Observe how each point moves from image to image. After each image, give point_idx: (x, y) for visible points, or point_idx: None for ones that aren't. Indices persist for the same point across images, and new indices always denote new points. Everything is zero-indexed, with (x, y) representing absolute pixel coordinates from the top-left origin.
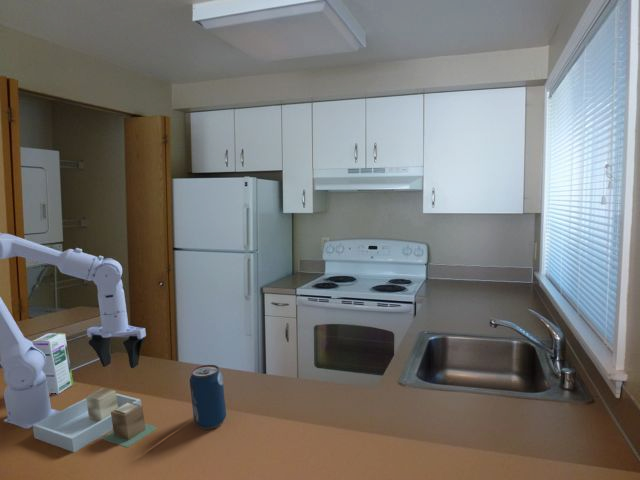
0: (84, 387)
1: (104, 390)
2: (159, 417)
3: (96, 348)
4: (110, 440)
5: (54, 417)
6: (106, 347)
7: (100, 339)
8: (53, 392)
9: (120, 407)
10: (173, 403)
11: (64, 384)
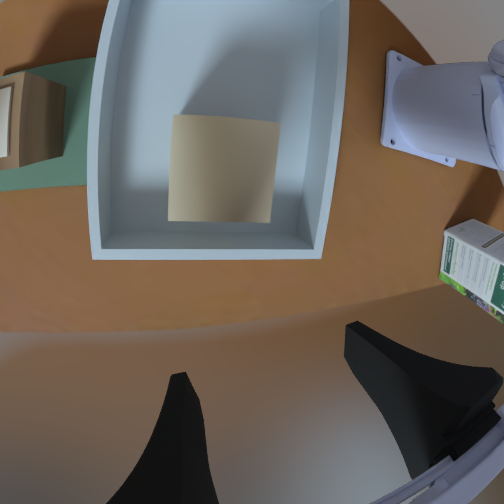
0: (411, 279)
1: (236, 204)
2: (43, 243)
3: (437, 376)
4: (59, 65)
5: (335, 49)
6: (395, 412)
7: (445, 439)
8: (455, 227)
9: (4, 113)
10: (80, 318)
11: (451, 256)
